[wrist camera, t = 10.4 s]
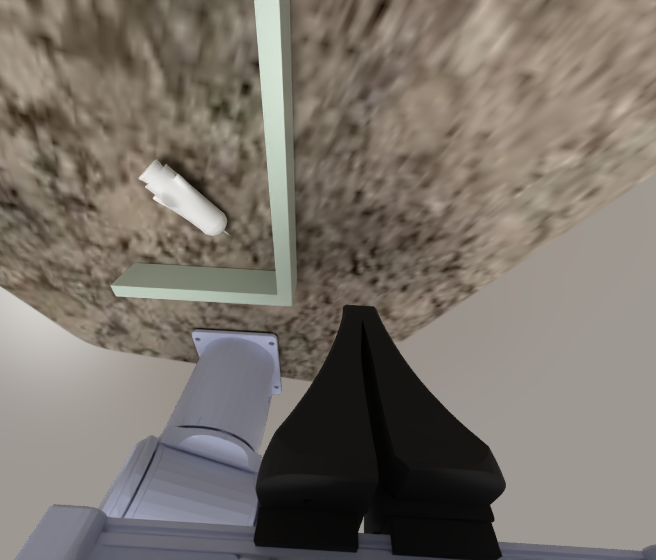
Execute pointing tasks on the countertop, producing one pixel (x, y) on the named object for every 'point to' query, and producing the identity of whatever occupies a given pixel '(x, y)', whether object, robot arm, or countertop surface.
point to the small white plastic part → (183, 198)
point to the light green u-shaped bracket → (280, 163)
